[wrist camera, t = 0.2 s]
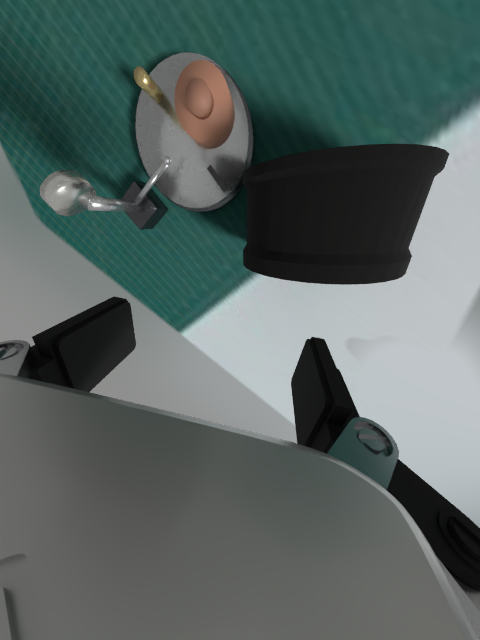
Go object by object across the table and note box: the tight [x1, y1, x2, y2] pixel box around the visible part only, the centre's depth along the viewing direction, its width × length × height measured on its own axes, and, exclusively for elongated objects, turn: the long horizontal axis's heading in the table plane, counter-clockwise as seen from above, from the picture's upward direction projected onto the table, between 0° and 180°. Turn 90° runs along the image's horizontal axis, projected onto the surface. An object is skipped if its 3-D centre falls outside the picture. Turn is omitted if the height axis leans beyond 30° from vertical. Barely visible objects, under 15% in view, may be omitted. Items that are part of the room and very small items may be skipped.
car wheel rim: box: [243, 144, 449, 284], centre depth 25 cm, size 20×10×20 cm, turn 91°
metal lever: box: [40, 156, 171, 229], centre depth 27 cm, size 12×5×18 cm, turn 129°
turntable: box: [134, 53, 250, 208], centre depth 27 cm, size 17×17×6 cm
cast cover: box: [174, 60, 235, 149], centre depth 25 cm, size 7×7×5 cm
